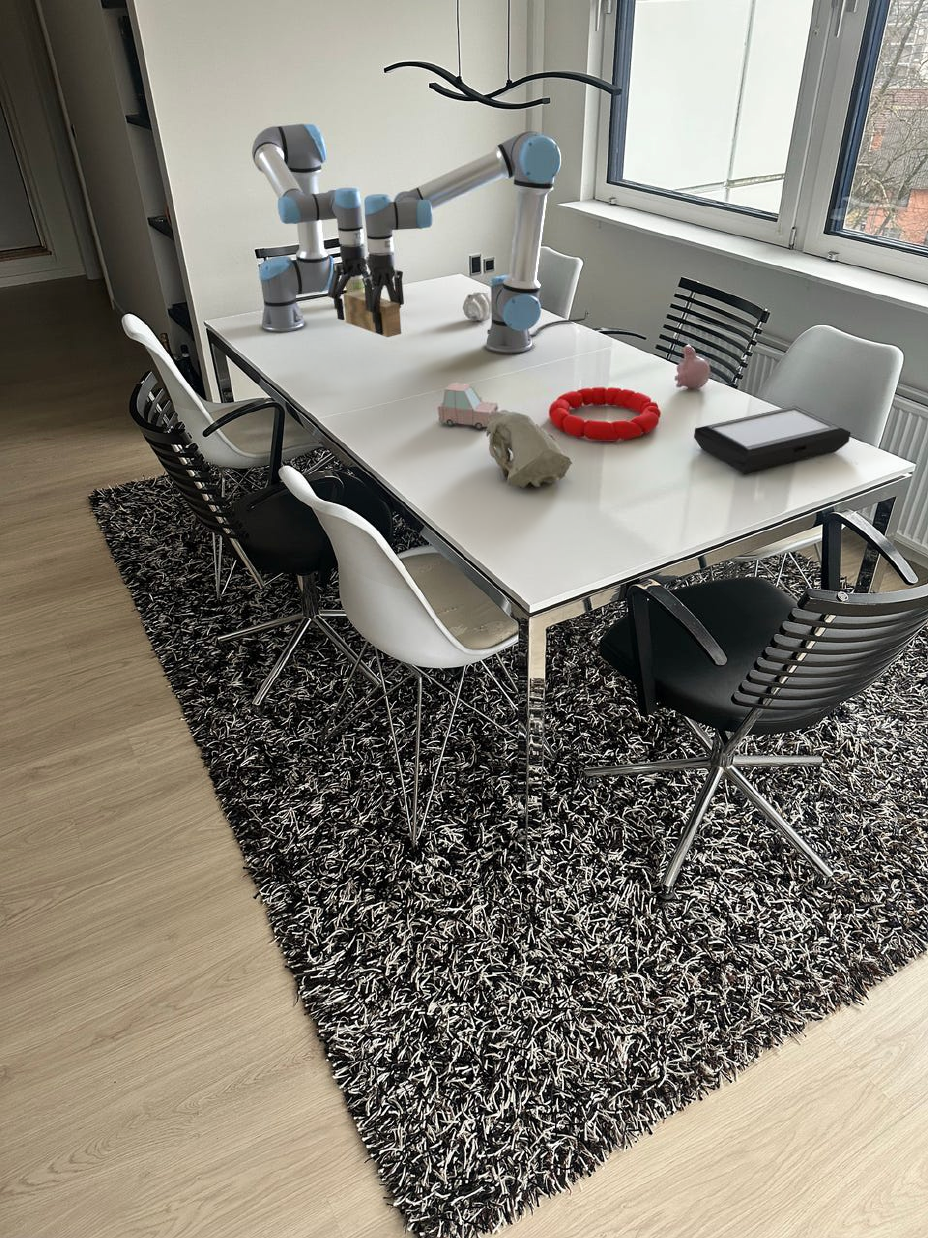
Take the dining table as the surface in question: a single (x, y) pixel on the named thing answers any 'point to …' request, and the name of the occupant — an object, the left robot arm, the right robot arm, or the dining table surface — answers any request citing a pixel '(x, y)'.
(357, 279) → the coffee cup
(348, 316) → the bar
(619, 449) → the dining table surface
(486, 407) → the toy car
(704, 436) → the electronic device
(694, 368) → the figurine
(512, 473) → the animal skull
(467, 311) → the seashell
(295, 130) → the left robot arm
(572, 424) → the decorative ring
